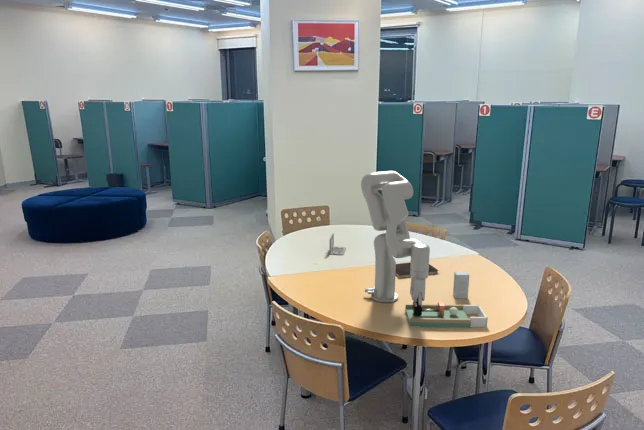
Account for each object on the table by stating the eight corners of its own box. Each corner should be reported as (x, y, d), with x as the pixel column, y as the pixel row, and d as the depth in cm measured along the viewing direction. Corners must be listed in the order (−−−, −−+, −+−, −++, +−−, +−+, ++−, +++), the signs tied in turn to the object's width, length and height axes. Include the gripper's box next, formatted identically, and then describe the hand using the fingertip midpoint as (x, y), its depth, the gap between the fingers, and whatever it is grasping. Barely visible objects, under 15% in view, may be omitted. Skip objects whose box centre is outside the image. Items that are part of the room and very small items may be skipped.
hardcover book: (438, 274, 249) (438, 270, 248) (399, 279, 243) (399, 275, 242) (423, 264, 264) (424, 260, 263) (386, 268, 258) (386, 264, 257)
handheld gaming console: (343, 255, 277) (343, 239, 274) (328, 254, 279) (328, 238, 276) (346, 248, 290) (346, 233, 287) (331, 247, 291) (331, 232, 288)
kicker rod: (414, 316, 197) (414, 301, 195) (412, 311, 201) (413, 296, 199) (443, 316, 196) (445, 301, 194) (441, 311, 200) (442, 297, 199)
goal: (469, 326, 193) (470, 317, 192) (462, 313, 204) (463, 304, 203) (486, 326, 192) (487, 318, 191) (478, 313, 204) (479, 305, 203)
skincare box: (464, 294, 223) (466, 271, 220) (467, 298, 219) (469, 274, 216) (452, 294, 223) (454, 271, 219) (455, 298, 218) (457, 275, 215)
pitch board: (409, 326, 193) (409, 318, 192) (405, 311, 206) (405, 303, 205) (470, 327, 192) (471, 319, 191) (462, 312, 205) (462, 304, 204)
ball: (450, 317, 197) (450, 309, 196) (448, 313, 200) (448, 305, 199) (458, 317, 196) (459, 309, 196) (456, 313, 200) (457, 305, 199)
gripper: (407, 265, 202) (405, 304, 207) (413, 280, 186) (410, 321, 191) (424, 265, 202) (422, 304, 207) (431, 280, 186) (429, 322, 191)
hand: (417, 312), depth 199 cm, fingers open, 3 cm apart
